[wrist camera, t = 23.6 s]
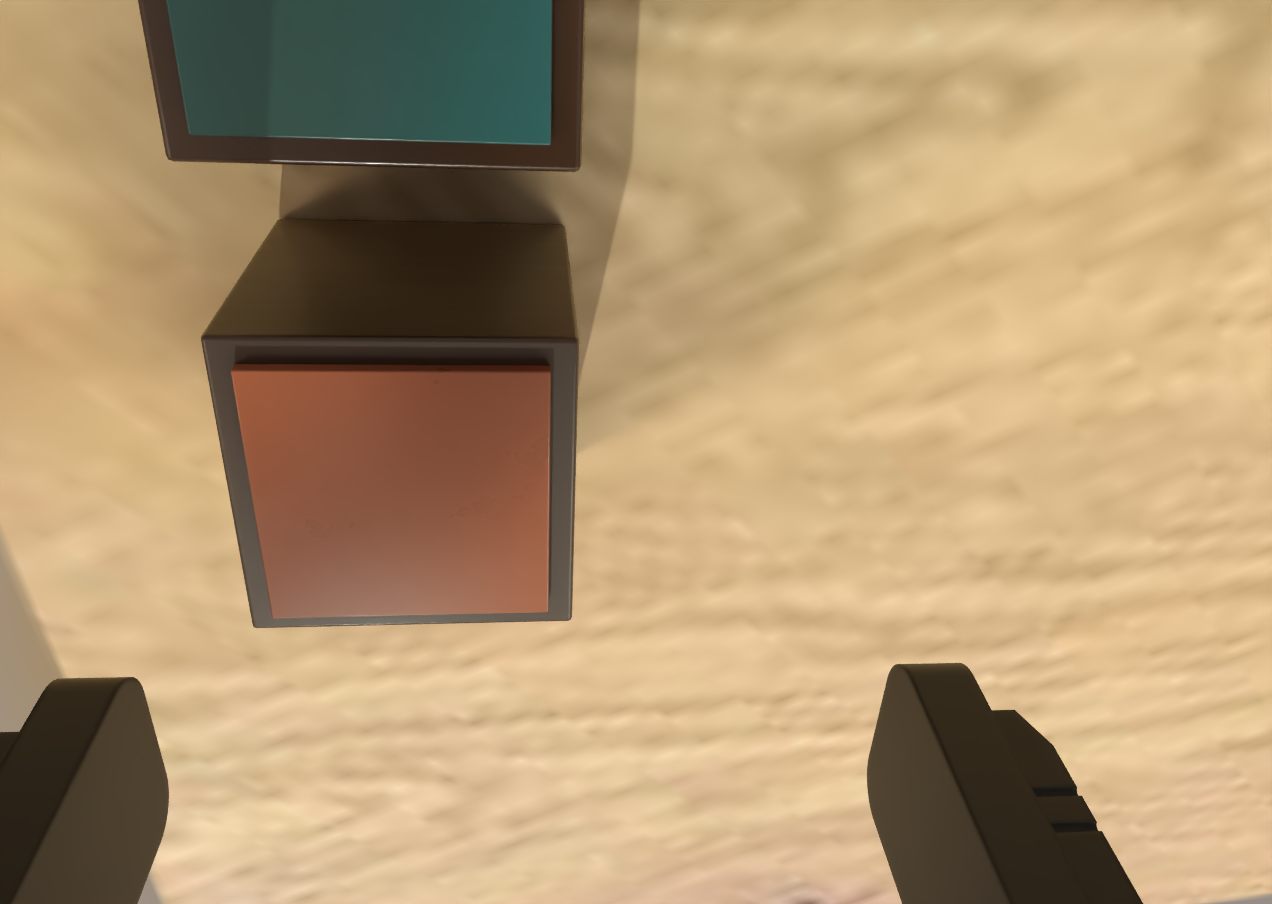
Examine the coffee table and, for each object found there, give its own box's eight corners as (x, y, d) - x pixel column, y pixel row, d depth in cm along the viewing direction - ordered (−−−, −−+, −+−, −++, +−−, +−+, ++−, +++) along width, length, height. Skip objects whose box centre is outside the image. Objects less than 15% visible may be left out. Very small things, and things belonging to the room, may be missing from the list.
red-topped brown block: (565, 223, 16) (580, 345, 12) (561, 462, 19) (572, 631, 15) (277, 217, 16) (194, 343, 12) (309, 463, 18) (248, 638, 14)
